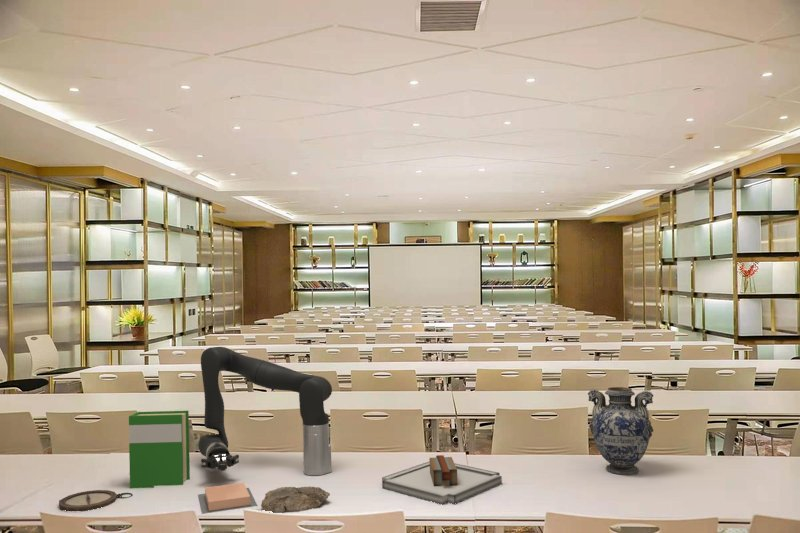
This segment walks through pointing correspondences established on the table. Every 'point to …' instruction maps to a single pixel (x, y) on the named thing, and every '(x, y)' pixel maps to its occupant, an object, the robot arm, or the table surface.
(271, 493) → the clay tablet
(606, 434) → the decorative vase
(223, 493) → the terracotta tile
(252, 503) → the rubber mat
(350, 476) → the table surface
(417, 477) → the grey square tray
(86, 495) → the compass
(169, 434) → the hardback book
